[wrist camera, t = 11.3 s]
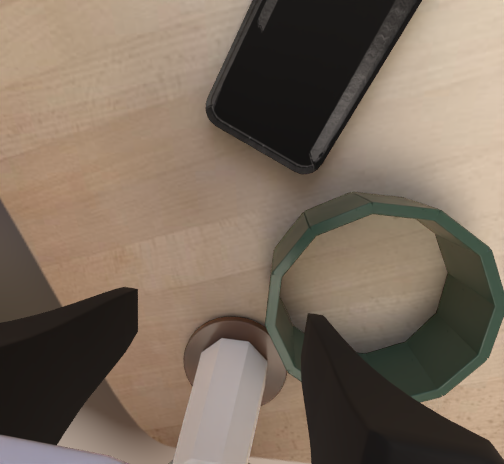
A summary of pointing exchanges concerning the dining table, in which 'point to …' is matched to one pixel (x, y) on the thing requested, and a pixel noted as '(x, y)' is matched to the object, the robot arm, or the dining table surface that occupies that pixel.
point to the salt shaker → (223, 405)
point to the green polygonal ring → (435, 329)
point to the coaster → (243, 332)
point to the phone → (303, 73)
